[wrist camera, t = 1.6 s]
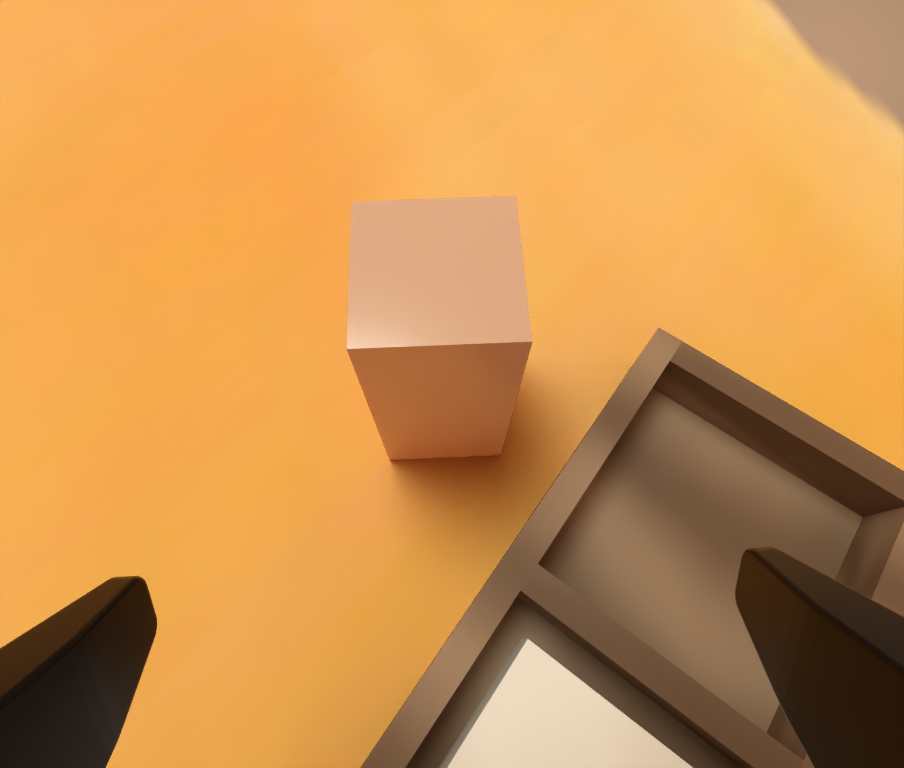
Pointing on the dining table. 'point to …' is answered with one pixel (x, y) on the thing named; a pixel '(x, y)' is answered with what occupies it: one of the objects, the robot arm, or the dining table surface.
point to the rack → (669, 564)
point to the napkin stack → (551, 723)
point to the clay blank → (438, 322)
